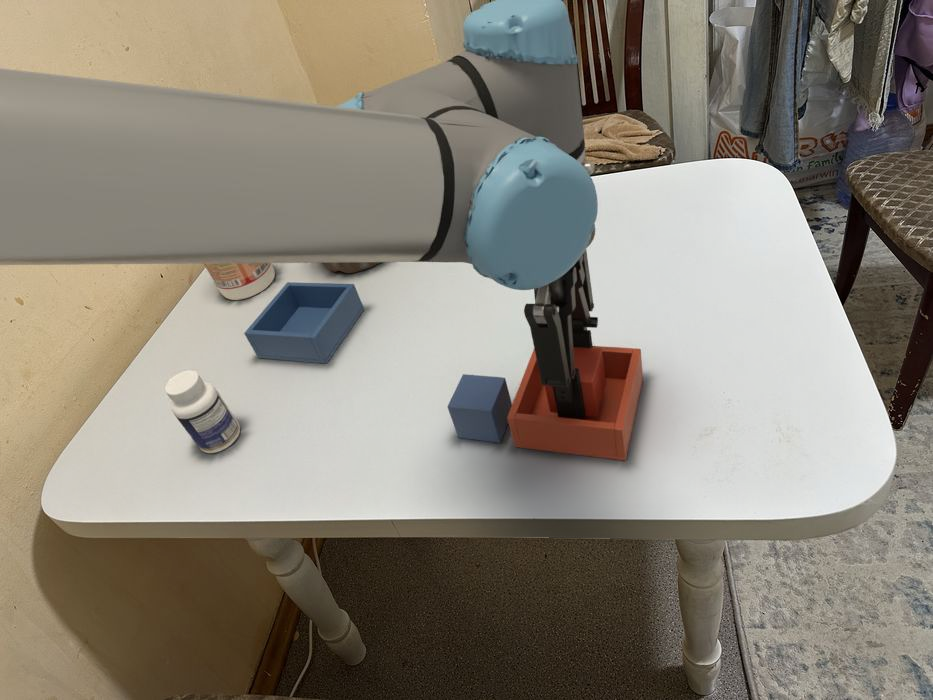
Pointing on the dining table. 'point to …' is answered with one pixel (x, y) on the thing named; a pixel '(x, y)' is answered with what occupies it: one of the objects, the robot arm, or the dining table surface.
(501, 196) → the robot arm
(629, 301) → the dining table surface
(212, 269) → the fruit juice
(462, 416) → the blue block
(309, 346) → the blue bin
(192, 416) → the pill bottle
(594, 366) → the red block
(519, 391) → the red bin
